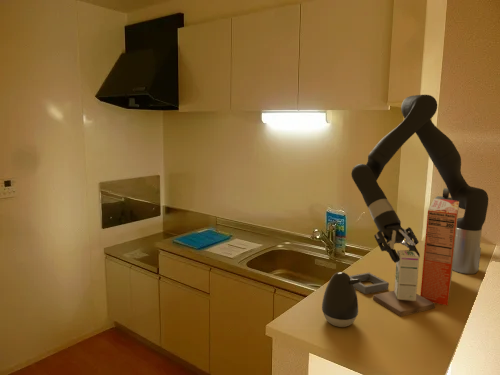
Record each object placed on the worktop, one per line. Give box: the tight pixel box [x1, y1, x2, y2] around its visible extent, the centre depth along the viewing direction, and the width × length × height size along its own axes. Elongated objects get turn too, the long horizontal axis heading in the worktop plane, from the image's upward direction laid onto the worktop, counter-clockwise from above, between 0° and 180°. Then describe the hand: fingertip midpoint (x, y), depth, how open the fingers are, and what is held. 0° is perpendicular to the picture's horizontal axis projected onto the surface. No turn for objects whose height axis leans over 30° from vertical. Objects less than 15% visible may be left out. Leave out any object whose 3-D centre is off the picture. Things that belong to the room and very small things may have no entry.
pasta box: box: [419, 197, 460, 306], centre depth 130 cm, size 23×8×30 cm, turn 150°
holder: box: [349, 272, 389, 295], centre depth 134 cm, size 10×10×2 cm
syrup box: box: [393, 249, 420, 301], centre depth 120 cm, size 6×6×14 cm
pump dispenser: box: [321, 271, 361, 328], centre depth 109 cm, size 10×10×15 cm
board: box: [372, 290, 436, 317], centre depth 122 cm, size 14×12×2 cm
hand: (407, 259), depth 119 cm, fingers closed on syrup box, 7 cm apart
